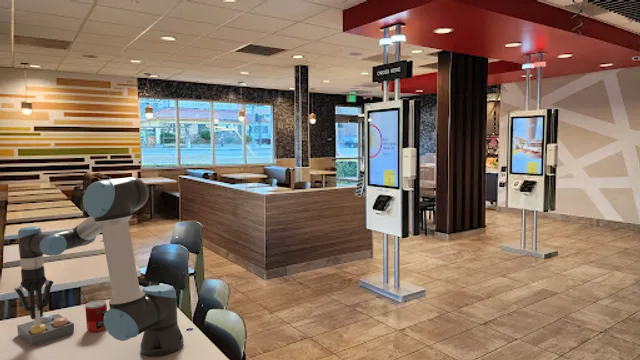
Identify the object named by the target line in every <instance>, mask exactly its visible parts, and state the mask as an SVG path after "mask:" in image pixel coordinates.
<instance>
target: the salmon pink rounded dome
mask: <svg viewBox="0 0 640 360" xmlns="http://www.w3.org/2000/svg"><path fill="white" fill-rule="evenodd" d="M67 320H68V318H67V317H66V316H65V317H64V316H62V317H61V318H57V319H55V320H53V325H54V327H55V328H57V327H61V326H64V325H67Z"/></svg>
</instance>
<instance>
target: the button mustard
mask: <svg viewBox="0 0 640 360" xmlns="http://www.w3.org/2000/svg"><path fill="white" fill-rule="evenodd" d="M45 331H46V330H45V324H41V326H40V327H35V326H32V327H31V334H32V335H35V334H38V333H42V332H45Z"/></svg>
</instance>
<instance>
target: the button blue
mask: <svg viewBox="0 0 640 360" xmlns="http://www.w3.org/2000/svg"><path fill="white" fill-rule="evenodd" d="M40 320H41V324H43V323H46V322H50V321H52V313H45V314H44V313H43V316H42V317H40Z"/></svg>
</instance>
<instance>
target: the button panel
mask: <svg viewBox="0 0 640 360" xmlns="http://www.w3.org/2000/svg"><path fill="white" fill-rule="evenodd" d="M51 315H52V314H51ZM61 317H63V316H62V315H61V314H60V313H56V314H53V315H52V321H50V322H46V323H43V324H45V330H46V331H45V332H42V333H38V334H35V335H32V334H31V327H32V326H34V320H32V321H28V322H24V323H22V324H18V325H16V326H17V327H16V328H17V336H18V337H20V338H21V339H22V340H23V341H24V342H26V343H27V344H29V346H31V347H35V346H38V345H42V344H44V343H47V342H50V341H52V340H56V339H59V338H62V337H65V336H68V335H71V334H74V333H75V324H74V323H73V322H72V321H71V320H69V319H67V325H64V326H61V327H57V328H55V327H54V325H53V320H55V319H57V318H61Z"/></svg>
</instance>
